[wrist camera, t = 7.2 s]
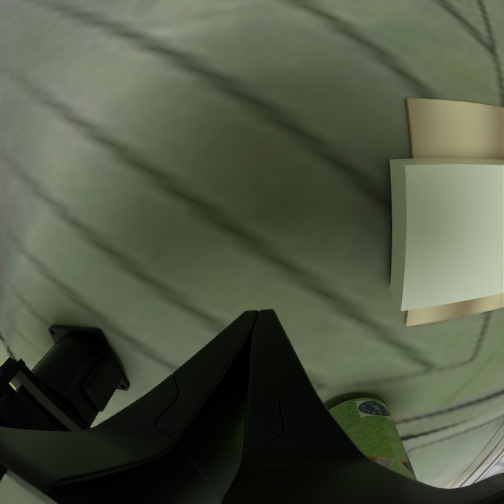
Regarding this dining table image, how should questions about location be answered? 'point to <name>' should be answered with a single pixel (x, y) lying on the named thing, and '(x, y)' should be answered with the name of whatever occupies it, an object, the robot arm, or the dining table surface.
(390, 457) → the beverage can
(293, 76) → the dining table surface
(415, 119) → the mat
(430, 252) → the tile
